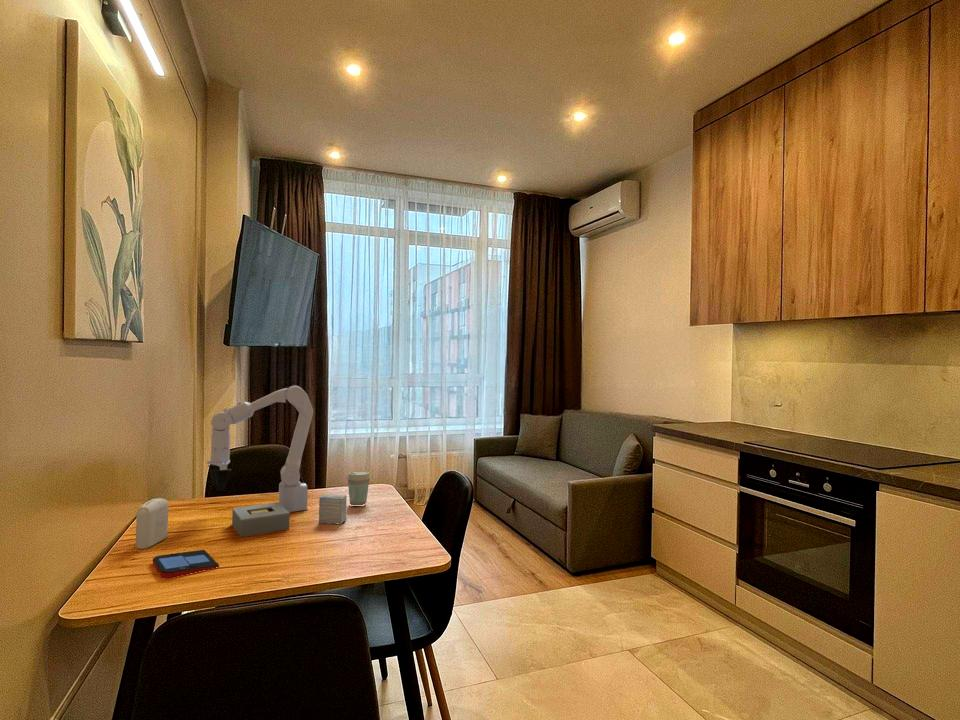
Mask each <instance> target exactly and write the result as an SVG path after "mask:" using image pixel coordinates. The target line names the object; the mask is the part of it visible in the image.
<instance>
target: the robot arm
mask: <svg viewBox="0 0 960 720" xmlns="http://www.w3.org/2000/svg"><path fill="white" fill-rule="evenodd" d="M286 400H287V401H286ZM287 402H289V404H291V405H292V406H293V407H294V408H295V409H296V411H297V412H298V418H297V420H296V424H295V429H294V432H293V437H292V439H291V444H290V447H289V451H288V455H287V457H286V459H285V460H286V461H285V463H284V465H283V466H281V469H280V472H279V473H280V480H281V481H280V482H279V484H278V503H279V504H280V505H281V506H283V507H284V508H285V509H286V510H287V511H288V512H289V513H293V512H294V513H295V512H300V511H306V510H308V500H309V499H308V497H309V495H308V494H309V493H308V491H309V490H308V484H306V483H305V482H301V481H300V479H301V473H300V470H301V462H302V457H303V453H304V451H305V450H304V449H305V446H306V442H307V439H308V435H309V431H310V428H311V427H310V426H311V423H312V420H313V415H314V409H313V406H312V403H311V401H310V397H309V394H307V392H306V391H305V390H304V389H303V388H302V387H300V386H299V385H291V386H289V387H285V388H281V389H279V390H276V391H273V392H271V393H269V394H267V395H265V396H263V397H260V398H258V399H256V400H255V401H252V402H247V401H243V402H242V401H238V402H237V403H236V405H234V406H232V407H229V408H224V409H223V411H220V412H217V413H215V414H214V415H213V416H212V417H211V421H210V424H211V426H212V428H211V437H210V438H211V439H210V441H211V442H210V460H206V465H208V468H209V470H210V473H211V477H212V483H213V486H216V489H217V491H225V490H226V487H227V483H228V480H229V477H230V474H231V473H232V471H233V470H232V468H228V465H229V464H230V463H231V459H230V458H231V457H230V454H231V453H230V451H231V433H230V429H231V428H230V426H231V425H235V424H239V423H240V422H242V421H245V420H247V419H250V418H251V417H253V415H254V413H255V411H258V410H261V409H263V408H265V407H268V406H270V405H273V404H275V403H287Z"/></svg>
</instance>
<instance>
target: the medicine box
mask: <svg viewBox="0 0 960 720" xmlns="http://www.w3.org/2000/svg"><path fill="white" fill-rule="evenodd" d="M318 499H319V502H318V503H319V507H318V509H319V510H318V524H324V523H339V524H338V525H343V524H344V523H345V522H346V521H347V494H346V495H345V494H322V496H320V497H319V498H318ZM345 520H346V521H345ZM344 521H345V522H344ZM343 522H344V523H343ZM342 523H343V524H342Z"/></svg>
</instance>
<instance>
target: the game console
mask: <svg viewBox="0 0 960 720" xmlns="http://www.w3.org/2000/svg"><path fill="white" fill-rule="evenodd" d="M152 566H154V568H155V570H156V572H157V573H158V574H159V573H160V574H159V577H160V579H162V578H172V579H174V578H173V577H176V578H178V577H177V576H180V577H182V576H181V575H185V576H187V575H186V574H189V575H191V574H190V573H194V574H196V573H195V572H198V573H200V572H199V571H203V570H207V571H209V570H208V569H212V568H216V567H218V568H219V567H220V565H219V563H218V562H216V560H215V559H214V558H213V557H212V556H211V555H210V554H209V553H208V552H207V551H206V550H205V549H199V550H192V551H183V552H175V553H168V554H160V555H156V556H154V557H153V559H152ZM216 569H217V568H216ZM212 570H213V569H212ZM203 572H204V571H203Z"/></svg>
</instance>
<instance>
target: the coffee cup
mask: <svg viewBox="0 0 960 720" xmlns="http://www.w3.org/2000/svg"><path fill="white" fill-rule="evenodd" d="M370 479H371V475H370V472H369V471H365V470H353V471H350V472H348V475H347V477H346V480H347V486H348V496H349V497H348V498H349V499H348V500H349V505H350V504H351V505H363V504H365V503H366V504H367V500H368V493H369V485H370Z"/></svg>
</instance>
